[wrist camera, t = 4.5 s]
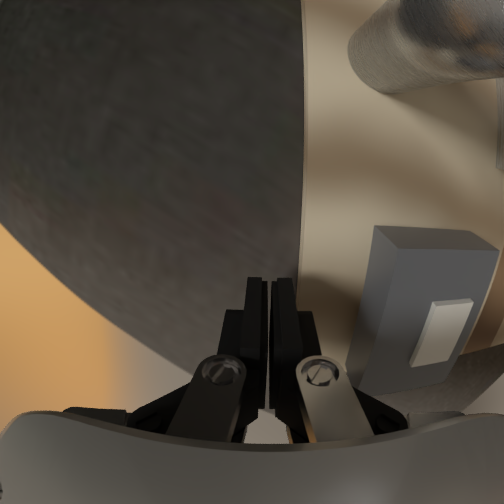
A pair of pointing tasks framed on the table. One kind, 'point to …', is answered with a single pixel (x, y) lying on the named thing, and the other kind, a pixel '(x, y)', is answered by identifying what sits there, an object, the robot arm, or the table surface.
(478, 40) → the awl
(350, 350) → the block
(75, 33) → the table surface
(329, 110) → the board
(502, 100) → the socket
